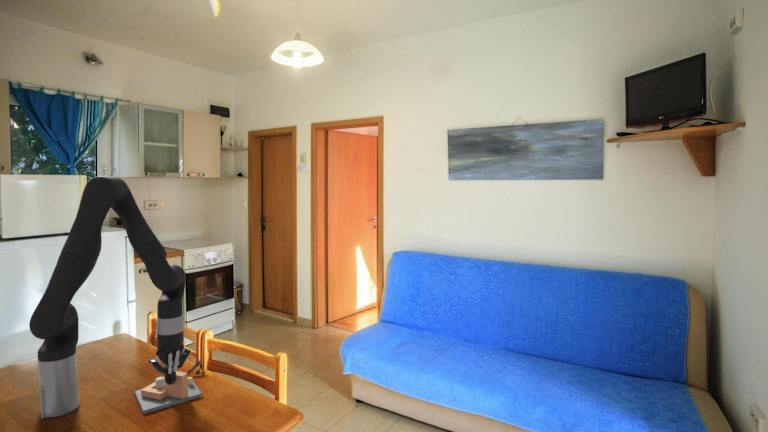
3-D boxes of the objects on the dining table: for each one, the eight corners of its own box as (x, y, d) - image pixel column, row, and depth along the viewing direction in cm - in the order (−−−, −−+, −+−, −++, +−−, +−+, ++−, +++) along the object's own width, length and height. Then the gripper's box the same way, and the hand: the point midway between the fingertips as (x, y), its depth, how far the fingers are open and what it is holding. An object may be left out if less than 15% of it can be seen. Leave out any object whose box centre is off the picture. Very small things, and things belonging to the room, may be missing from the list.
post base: (143, 414, 128) (142, 395, 127) (134, 394, 140) (134, 377, 139) (202, 396, 139) (201, 379, 138) (189, 379, 150) (189, 363, 150)
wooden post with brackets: (207, 368, 158) (202, 359, 156) (189, 384, 152) (183, 375, 150) (204, 367, 159) (199, 358, 157) (186, 383, 153) (180, 374, 151)
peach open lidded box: (141, 395, 136) (140, 373, 135) (161, 384, 143) (160, 363, 143) (175, 403, 132) (175, 380, 131) (194, 391, 139) (193, 369, 139)
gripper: (156, 338, 124) (157, 395, 125) (196, 326, 135) (196, 378, 137) (142, 333, 128) (142, 388, 129) (182, 321, 139) (182, 372, 140)
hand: (170, 383), depth 133 cm, fingers closed
